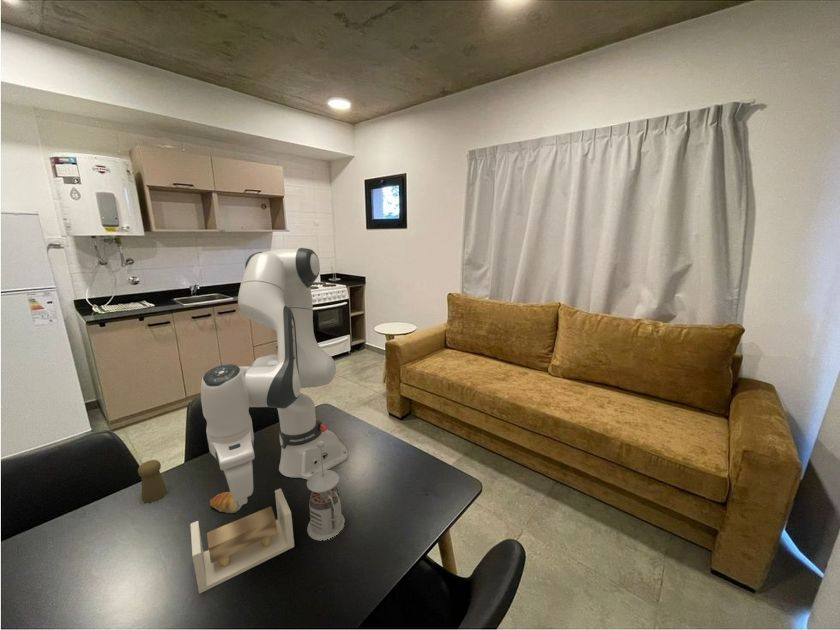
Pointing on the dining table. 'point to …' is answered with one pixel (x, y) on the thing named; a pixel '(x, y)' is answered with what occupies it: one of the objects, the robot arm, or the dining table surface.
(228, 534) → the shelf board
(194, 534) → the peg frame
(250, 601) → the dining table surface
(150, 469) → the cork
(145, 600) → the dining table surface
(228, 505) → the pastry
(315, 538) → the french press
